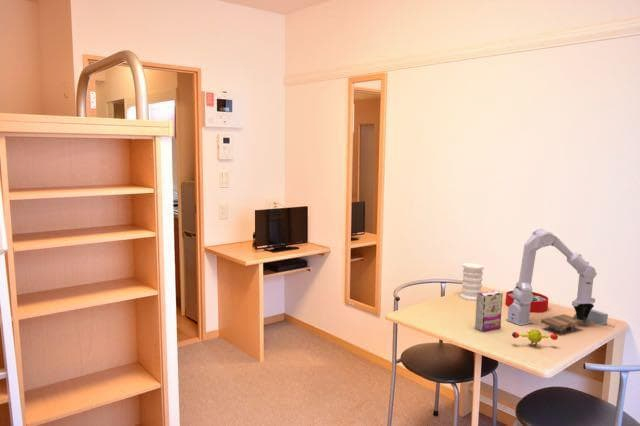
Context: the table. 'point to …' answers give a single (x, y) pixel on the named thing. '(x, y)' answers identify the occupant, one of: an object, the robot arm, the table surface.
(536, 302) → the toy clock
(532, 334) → the toy figure
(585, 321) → the roller
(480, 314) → the candy bar box
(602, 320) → the block
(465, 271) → the decorative container
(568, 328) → the roller
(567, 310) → the table surface
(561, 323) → the slab
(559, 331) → the roller
